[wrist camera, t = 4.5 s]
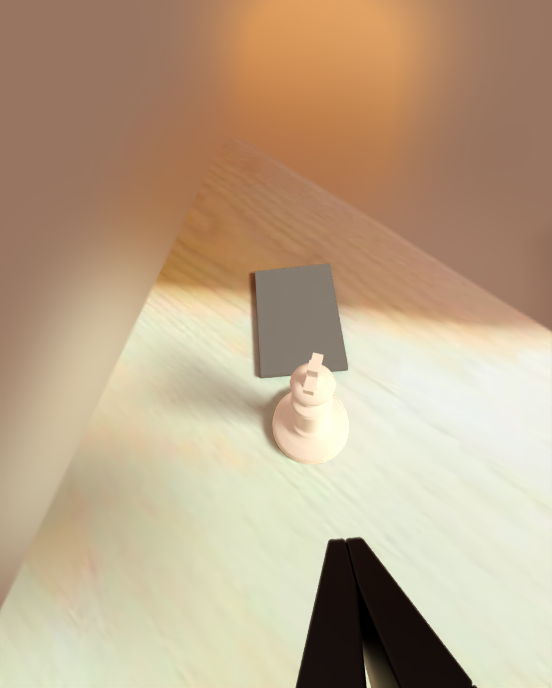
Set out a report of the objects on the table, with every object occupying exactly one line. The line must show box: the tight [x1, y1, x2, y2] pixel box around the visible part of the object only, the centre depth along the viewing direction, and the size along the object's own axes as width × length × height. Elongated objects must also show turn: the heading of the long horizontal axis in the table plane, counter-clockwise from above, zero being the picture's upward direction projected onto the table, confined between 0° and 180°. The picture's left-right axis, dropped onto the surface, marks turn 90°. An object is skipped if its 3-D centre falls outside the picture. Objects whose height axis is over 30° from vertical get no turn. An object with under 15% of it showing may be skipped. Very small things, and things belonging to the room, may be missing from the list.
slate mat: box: [255, 264, 348, 378], centre depth 26 cm, size 9×6×1 cm, turn 4°
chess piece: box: [272, 353, 349, 464], centre depth 18 cm, size 5×5×10 cm
